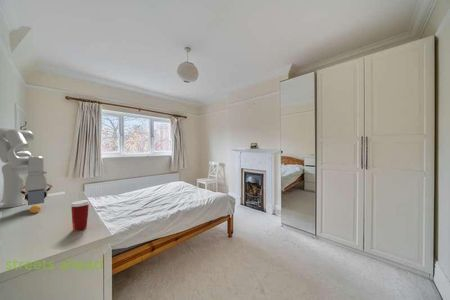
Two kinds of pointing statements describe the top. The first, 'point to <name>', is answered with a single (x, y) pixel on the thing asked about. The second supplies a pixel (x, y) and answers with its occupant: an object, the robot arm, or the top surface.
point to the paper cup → (79, 214)
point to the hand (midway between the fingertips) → (36, 198)
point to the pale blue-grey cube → (35, 197)
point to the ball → (35, 209)
